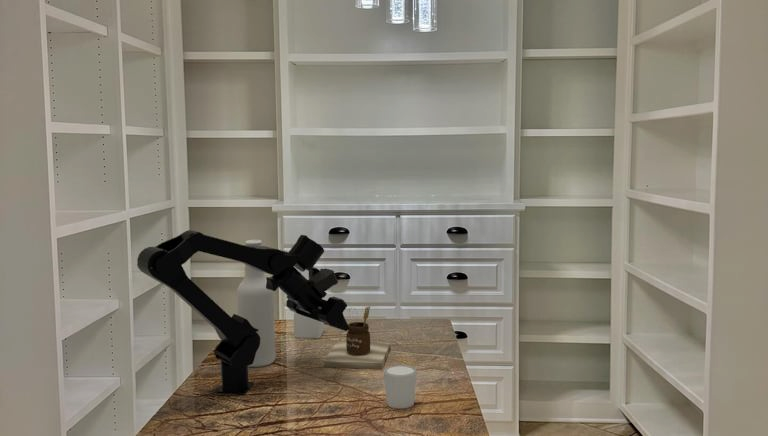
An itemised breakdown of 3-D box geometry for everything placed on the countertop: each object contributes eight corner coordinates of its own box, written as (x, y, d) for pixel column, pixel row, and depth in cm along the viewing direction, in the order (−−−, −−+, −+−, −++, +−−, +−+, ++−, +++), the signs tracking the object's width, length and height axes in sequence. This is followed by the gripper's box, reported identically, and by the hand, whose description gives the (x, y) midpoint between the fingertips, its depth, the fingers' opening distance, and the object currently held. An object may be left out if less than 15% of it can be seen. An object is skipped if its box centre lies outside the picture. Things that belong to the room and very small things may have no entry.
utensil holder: (356, 347, 170) (356, 300, 169) (376, 351, 166) (375, 304, 165) (341, 353, 166) (340, 305, 164) (361, 357, 162) (360, 309, 160)
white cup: (397, 394, 142) (397, 362, 142) (423, 402, 138) (423, 369, 137) (376, 404, 137) (376, 371, 136) (403, 412, 133) (403, 378, 132)
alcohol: (239, 369, 159) (234, 244, 156) (239, 357, 168) (235, 238, 164) (276, 366, 161) (272, 242, 157) (275, 355, 169) (271, 237, 166)
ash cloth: (381, 369, 158) (381, 363, 158) (323, 367, 160) (323, 361, 160) (390, 348, 174) (390, 342, 174) (337, 346, 176) (337, 341, 175)
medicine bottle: (324, 331, 190) (323, 289, 189) (319, 338, 183) (318, 295, 182) (299, 330, 191) (298, 289, 189) (294, 338, 184) (292, 295, 182)
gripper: (339, 264, 149) (378, 305, 157) (296, 254, 164) (334, 292, 172) (309, 304, 145) (351, 344, 153) (268, 290, 160) (308, 327, 168)
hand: (336, 325), depth 162 cm, fingers open, 9 cm apart
